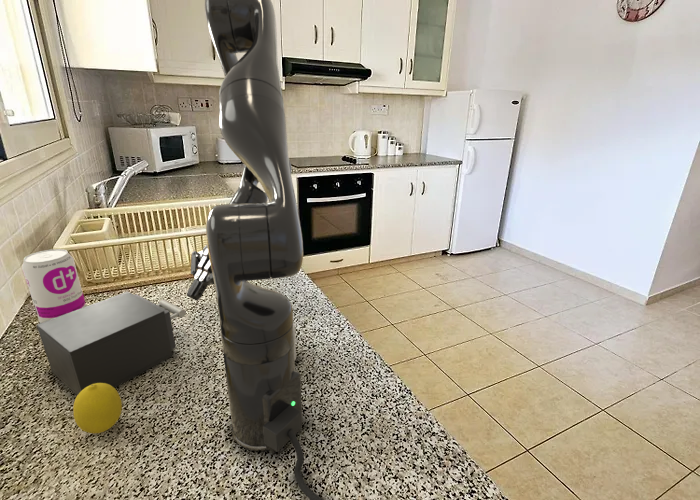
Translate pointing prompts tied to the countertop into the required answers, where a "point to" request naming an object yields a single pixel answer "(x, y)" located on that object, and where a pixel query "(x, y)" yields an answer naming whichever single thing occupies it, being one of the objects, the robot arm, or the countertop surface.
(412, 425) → the countertop surface
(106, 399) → the lemon
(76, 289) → the supplement can
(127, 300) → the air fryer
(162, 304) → the fryer drawer
